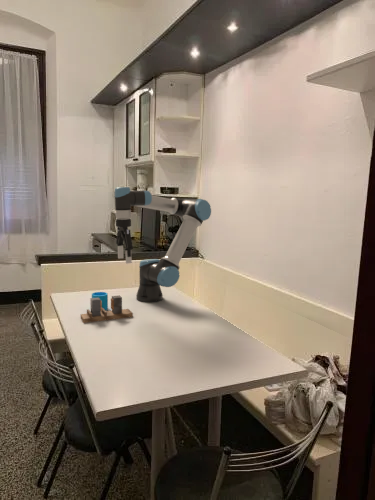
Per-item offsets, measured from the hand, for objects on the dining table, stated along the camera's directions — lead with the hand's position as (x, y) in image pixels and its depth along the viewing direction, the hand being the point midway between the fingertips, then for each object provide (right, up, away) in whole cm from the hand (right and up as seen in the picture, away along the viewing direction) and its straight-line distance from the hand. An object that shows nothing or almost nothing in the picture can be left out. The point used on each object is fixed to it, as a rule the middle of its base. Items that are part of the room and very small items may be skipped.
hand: (124, 260), depth 197 cm
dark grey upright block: (-13, -26, -8) cm, 30 cm away
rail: (-8, -28, -5) cm, 29 cm away
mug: (-15, -26, +10) cm, 31 cm away
